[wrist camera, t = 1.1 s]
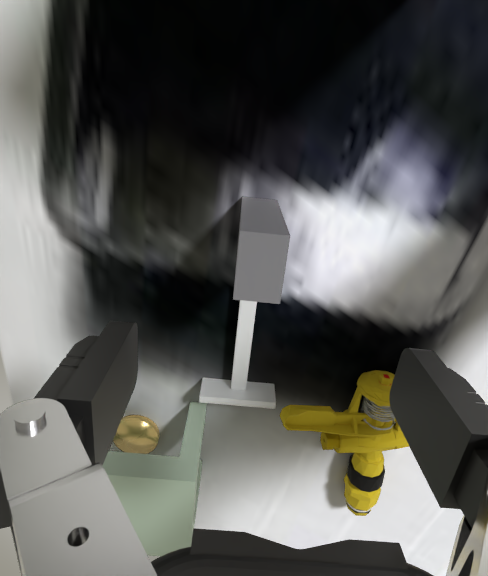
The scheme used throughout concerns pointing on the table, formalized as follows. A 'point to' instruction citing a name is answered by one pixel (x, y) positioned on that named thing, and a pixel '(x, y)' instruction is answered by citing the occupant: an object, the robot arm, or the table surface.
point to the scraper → (252, 298)
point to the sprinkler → (356, 436)
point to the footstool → (161, 488)
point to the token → (136, 435)
